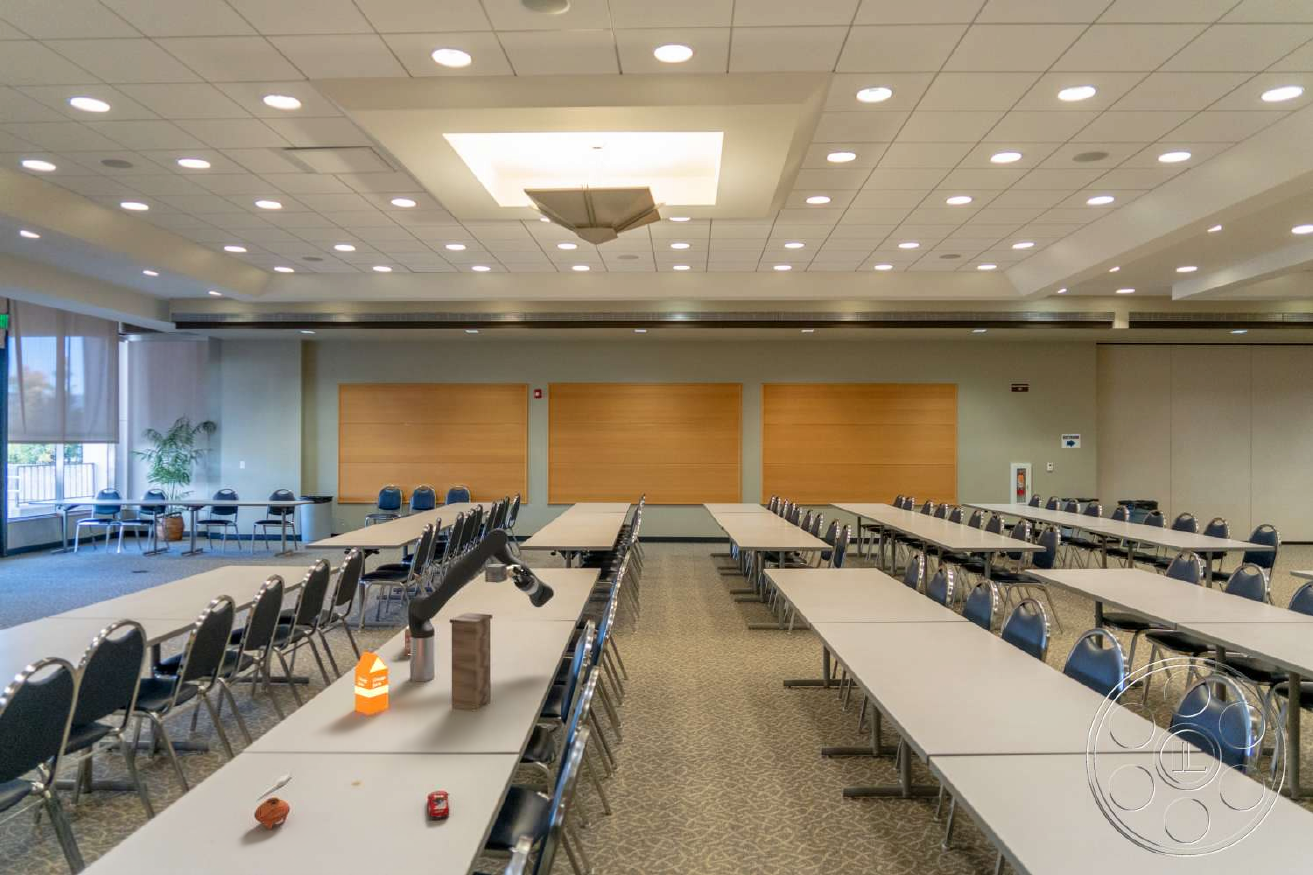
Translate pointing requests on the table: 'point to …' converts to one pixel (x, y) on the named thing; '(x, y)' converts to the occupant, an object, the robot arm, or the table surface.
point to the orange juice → (371, 684)
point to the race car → (438, 804)
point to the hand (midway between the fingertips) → (509, 568)
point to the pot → (272, 812)
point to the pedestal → (471, 661)
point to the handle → (499, 572)
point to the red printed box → (407, 641)
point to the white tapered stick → (276, 784)
